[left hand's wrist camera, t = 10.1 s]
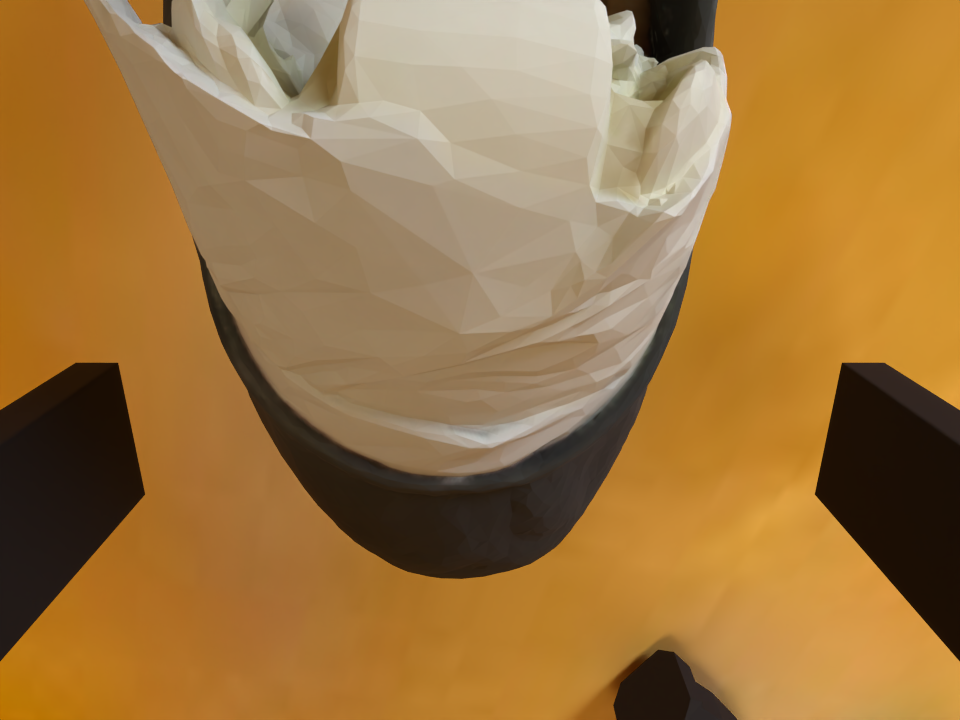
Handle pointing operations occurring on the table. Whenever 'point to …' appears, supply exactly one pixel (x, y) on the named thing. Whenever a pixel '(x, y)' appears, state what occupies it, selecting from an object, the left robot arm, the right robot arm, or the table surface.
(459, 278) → the ballet flat
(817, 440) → the table surface
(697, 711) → the toy gun
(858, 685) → the table surface
